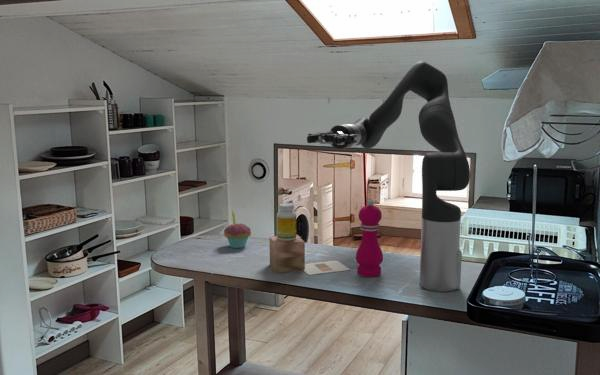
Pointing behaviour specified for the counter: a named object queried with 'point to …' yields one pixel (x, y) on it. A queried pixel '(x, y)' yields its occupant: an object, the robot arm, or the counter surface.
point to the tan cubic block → (287, 254)
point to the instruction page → (324, 267)
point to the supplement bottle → (286, 222)
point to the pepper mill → (369, 242)
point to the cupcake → (237, 234)
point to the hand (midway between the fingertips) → (321, 140)
